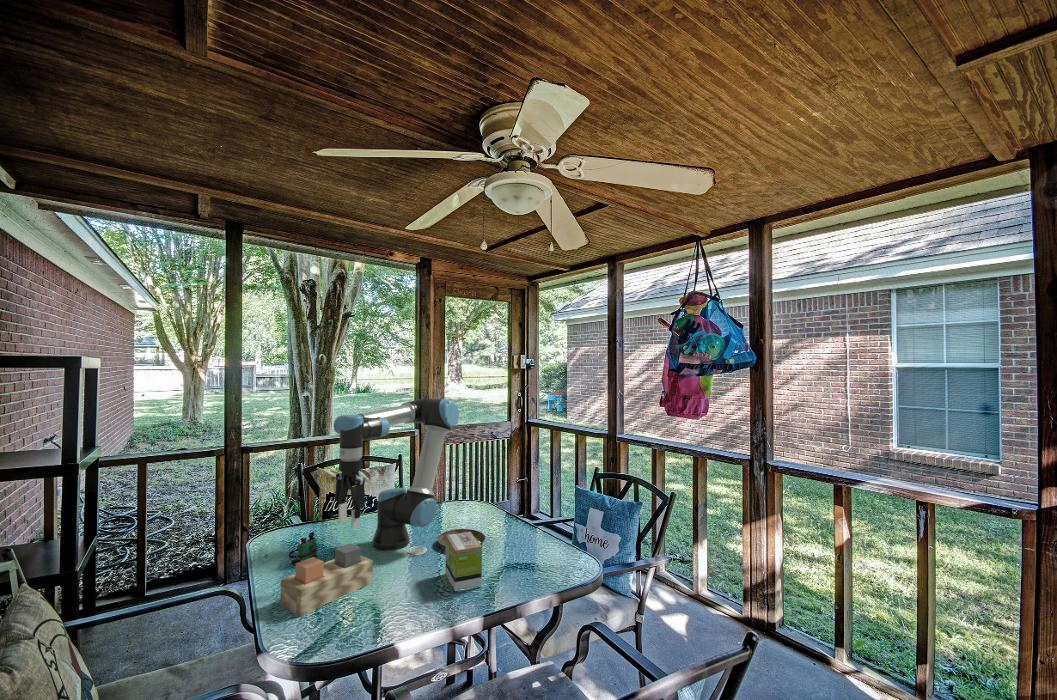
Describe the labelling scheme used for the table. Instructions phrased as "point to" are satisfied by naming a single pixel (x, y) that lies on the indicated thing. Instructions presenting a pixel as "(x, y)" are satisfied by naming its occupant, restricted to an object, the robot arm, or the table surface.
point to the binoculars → (305, 549)
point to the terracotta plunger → (309, 570)
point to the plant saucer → (476, 534)
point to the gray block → (347, 555)
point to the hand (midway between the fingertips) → (348, 524)
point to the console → (325, 586)
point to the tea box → (463, 561)
